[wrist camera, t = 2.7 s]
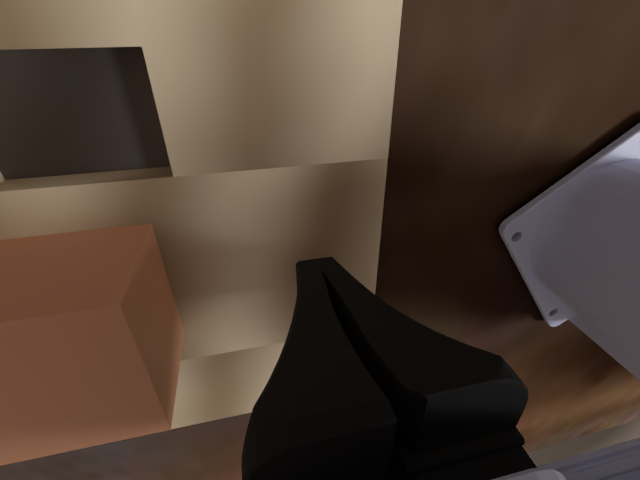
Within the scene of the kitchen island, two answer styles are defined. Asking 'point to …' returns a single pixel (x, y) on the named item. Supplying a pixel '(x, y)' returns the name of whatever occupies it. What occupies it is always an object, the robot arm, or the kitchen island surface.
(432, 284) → the kitchen island surface
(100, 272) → the rust block
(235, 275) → the box
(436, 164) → the kitchen island surface
